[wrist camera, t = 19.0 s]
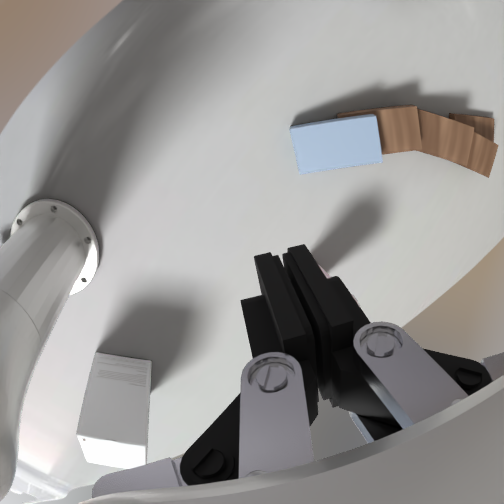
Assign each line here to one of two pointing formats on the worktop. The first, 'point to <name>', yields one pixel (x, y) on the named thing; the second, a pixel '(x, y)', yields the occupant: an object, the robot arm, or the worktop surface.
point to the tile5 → (477, 124)
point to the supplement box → (116, 412)
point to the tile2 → (394, 127)
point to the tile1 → (336, 143)
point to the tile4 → (481, 155)
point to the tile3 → (445, 137)
